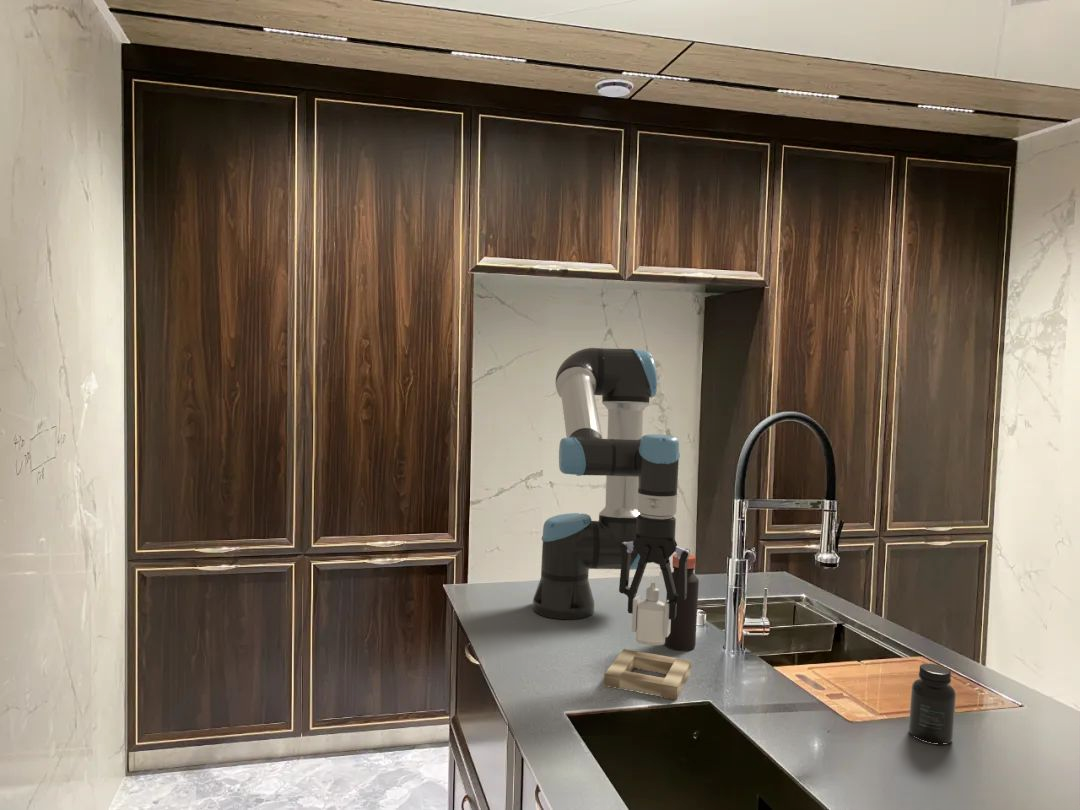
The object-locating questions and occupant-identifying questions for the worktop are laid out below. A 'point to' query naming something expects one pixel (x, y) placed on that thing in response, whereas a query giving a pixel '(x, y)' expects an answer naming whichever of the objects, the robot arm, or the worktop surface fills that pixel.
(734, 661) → the worktop surface
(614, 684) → the square wooden frame
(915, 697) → the supplement bottle
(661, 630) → the eye dropper bottle
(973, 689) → the worktop surface
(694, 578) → the vinegar
